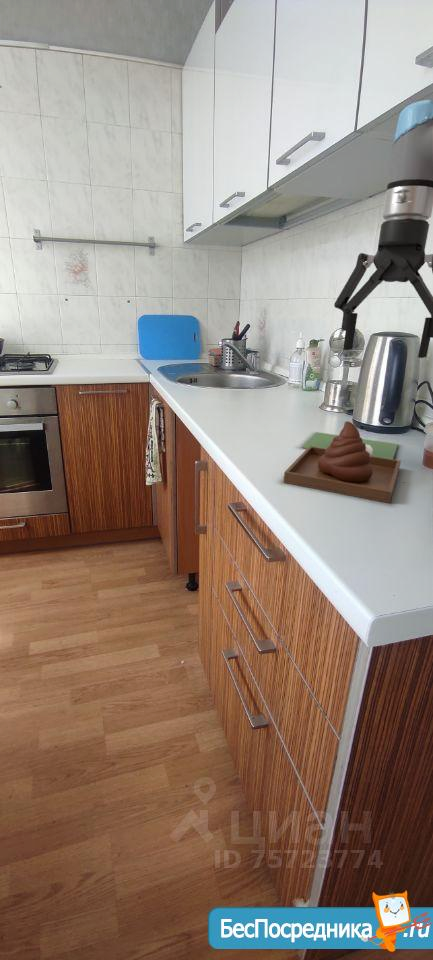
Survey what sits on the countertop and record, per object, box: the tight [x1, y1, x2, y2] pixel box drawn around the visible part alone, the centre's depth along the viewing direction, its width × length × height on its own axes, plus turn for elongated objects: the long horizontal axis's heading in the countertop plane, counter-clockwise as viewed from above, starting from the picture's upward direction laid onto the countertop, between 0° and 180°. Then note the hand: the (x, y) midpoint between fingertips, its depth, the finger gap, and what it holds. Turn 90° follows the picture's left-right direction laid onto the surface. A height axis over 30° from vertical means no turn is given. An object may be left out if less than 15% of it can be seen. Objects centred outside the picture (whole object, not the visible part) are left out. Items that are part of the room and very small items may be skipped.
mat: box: [301, 432, 399, 459], centre depth 100 cm, size 18×13×1 cm
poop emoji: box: [318, 421, 373, 482], centre depth 81 cm, size 10×8×9 cm
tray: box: [283, 446, 402, 504], centre depth 83 cm, size 17×17×2 cm
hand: (383, 353), depth 85 cm, fingers open, 13 cm apart
